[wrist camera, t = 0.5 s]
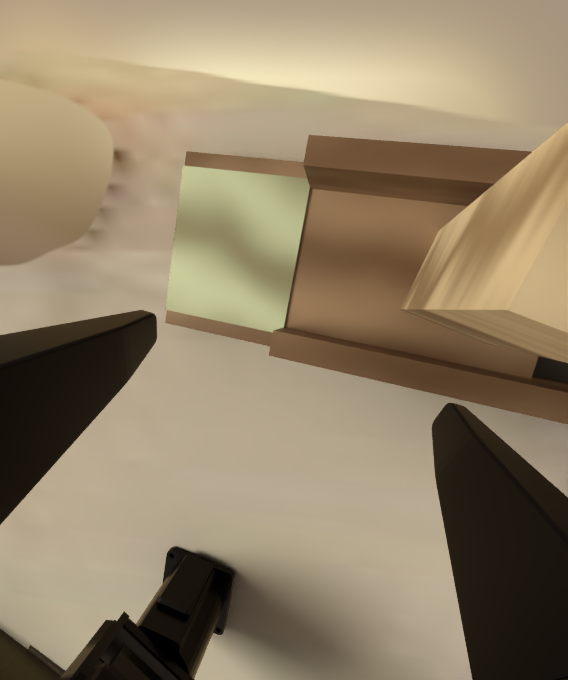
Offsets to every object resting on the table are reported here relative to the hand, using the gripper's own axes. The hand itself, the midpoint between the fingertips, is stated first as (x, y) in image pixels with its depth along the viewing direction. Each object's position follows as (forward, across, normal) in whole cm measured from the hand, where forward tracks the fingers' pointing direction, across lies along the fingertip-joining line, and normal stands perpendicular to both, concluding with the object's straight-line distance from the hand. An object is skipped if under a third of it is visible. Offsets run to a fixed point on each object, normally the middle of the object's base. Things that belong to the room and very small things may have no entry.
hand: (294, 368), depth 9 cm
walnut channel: (+14, -4, 0) cm, 14 cm away
